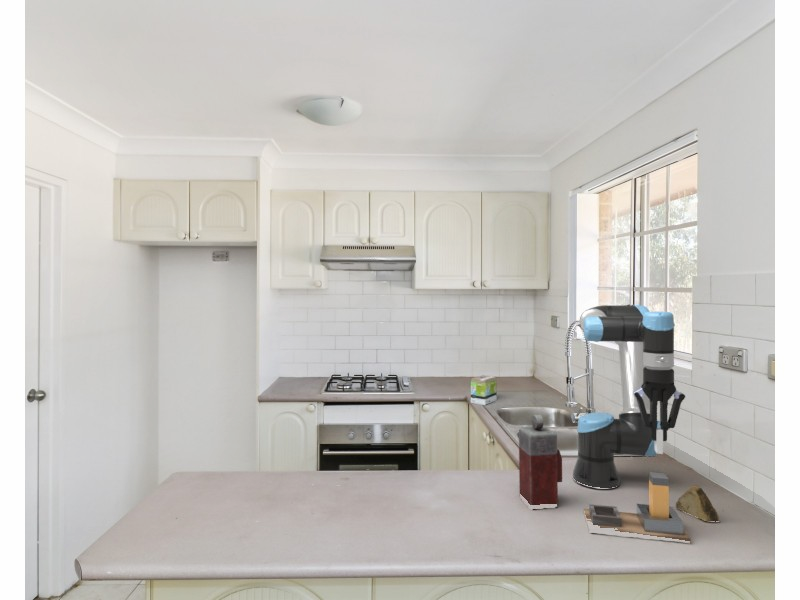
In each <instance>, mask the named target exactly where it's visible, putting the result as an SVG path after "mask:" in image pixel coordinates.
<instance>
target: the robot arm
mask: <svg viewBox="0 0 800 600" xmlns="http://www.w3.org/2000/svg"><path fill="white" fill-rule="evenodd" d="M579 326H580V327H581V329H582V330H583V336H584V340H585V341H586V342H587V341H588V342H597V343H599V342H614V343H616V344H617V345H618V353H619V367H620V368H619V369H620V380H621V381H620V383H621V396H622V397H621V398H622V411H620V412H619V413H618V418H615V417H614V415H613V414H612V413H609V412H607V413H606V412H590V413H585V414H583V415H581V416H580V417H579V418H578V421H577V428H576V429H577V459H576V462H575V465H574V468H573V472H572V479H573V478H574V479H575V480H576V481H578V482H580V483H582V484H585V485H588V486H592V487H600V488H612V487H616V486H618V485H619V484H620V483H621V482H620V475H619V472H618V470H617V466H616V463H615V454H617V455H618V454H619V455H632V456H642V457H656V456H658V455H664V442H667V441H668V431H669V429H674V428H675V427H676V424H677V419H678V416H679V412H680V408H681V404H682V403H683V402H684V401H683V400H685V398H686V395H685V394H684V393H682V392H681V391H679V390H677V387H676V386H675V370H674V366H675V360H674V359H675V355H674V354H675V353H674V352H675V321H674V314H673V313H672V311H671V312H670V311H650V310H649V309H648V307H646V306H645V305H636V304H630V305H629V304H628V305H627V304H626V305H624V304H621V305H619V304H618V305H617V304H616V305H615V304H614V305H612V304H611V305H608V304H607V305H597V306H594V307H591V308H588V309H586V310H585V311H583V312H582V313H581V315H580V317H579ZM672 397H673V401H672V404H671V408H670V411H669V414H668V406H669V401H670V399H671V398H672ZM658 402H659V404H658ZM658 405H659V412H660V413H659V420H658ZM668 415H669V416H668ZM619 486H620V485H619ZM619 486H618V487H619Z"/></svg>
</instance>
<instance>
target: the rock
mask: <svg viewBox="0 0 800 600" xmlns="http://www.w3.org/2000/svg"><path fill="white" fill-rule="evenodd" d="M676 501H677V502H676V503H675V509H676V508H677V509H676V510H678V509H680V510H682V511H684V512H686V513H689V514H691V515H693V516H696V517H698V518H700V519H702V520H704V521H715V522H716V521H720V522H721V520H720V517H719V515H718V512H717V510H716V508H714V506H713V504H712V502H711V500H710V499H709V496H708V495H707V494H706V493H705V491H704V490H703V488H702V487H700V486H698V485H692V486H690V488H689V489H688V490H687V491H685V492H684V493H683V494H682V495H681V496H679V498H678V500H676ZM680 510H679V511H680ZM682 511H681V512H682ZM684 512H683V513H684ZM686 513H685V514H686ZM689 514H688V515H689ZM691 515H690V516H691ZM700 519H699V520H700ZM702 520H701V521H702ZM704 521H703V522H704Z"/></svg>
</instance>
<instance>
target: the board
mask: <svg viewBox="0 0 800 600" xmlns="http://www.w3.org/2000/svg"><path fill="white" fill-rule="evenodd" d="M584 511H585V515H586V518H587V519H591V520H587V521H590V522H592V523H593V525H598V526H600V528H614V529H615V528H617V529H618V530H615V531H620V532H629V533H637V534H643V535H650V536H657V537H665V538H672V539H679V540H685V541H690V542H691V537H690V535H689V533H687V531H686V530H685V527H683V536H682V535H672V534H663V533H653V532H645V531H644V529H643V527H642V525H641V523H640V521H639V519H638V517H637V512H624V511H619V509H618V506H613V505H602V504H592V503H591V504H590V503H589V508H583V512H584Z"/></svg>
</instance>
